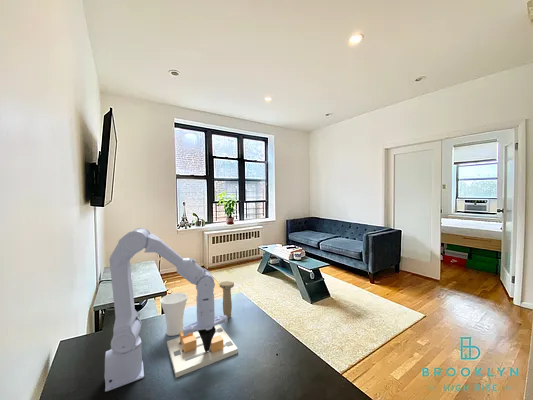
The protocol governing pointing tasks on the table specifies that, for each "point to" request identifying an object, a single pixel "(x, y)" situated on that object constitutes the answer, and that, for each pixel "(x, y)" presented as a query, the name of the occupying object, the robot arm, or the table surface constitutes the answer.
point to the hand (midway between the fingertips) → (206, 349)
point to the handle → (227, 297)
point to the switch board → (198, 353)
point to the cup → (174, 312)
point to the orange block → (216, 343)
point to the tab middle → (189, 343)
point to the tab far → (184, 336)
